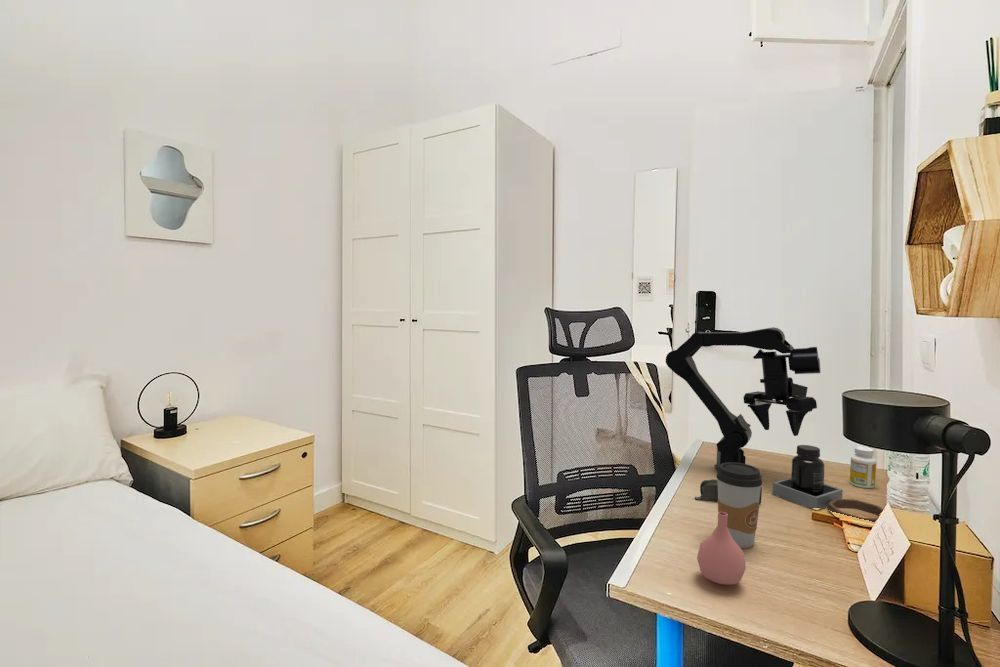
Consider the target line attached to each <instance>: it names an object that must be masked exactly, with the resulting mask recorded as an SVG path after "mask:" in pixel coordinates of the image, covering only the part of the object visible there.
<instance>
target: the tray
mask: <svg viewBox="0 0 1000 667" xmlns="http://www.w3.org/2000/svg"><path fill="white" fill-rule="evenodd" d="M843 491H844V490H843V489H841V488H838V487H835V486H831V485H829V484H825V483H824V494H823V495H819V496H816V497H815V496H812V495H810V494H807V493H804V492H801V491H798V490H795V489H792V488H791V477H789V478H785V479H782V480H778V481H774V482H772V493H771V494H772V495H773V496H776V497H778V498H781V499H784V500H786V501H789V502H792V503H794V504H797V505H800V506H802V507H805V508H808V509H811V510H813V508H823V509H825V508H828V503H829V502H831V501H832V500H834V499H843V494H844V493H843Z"/></svg>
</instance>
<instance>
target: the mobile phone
mask: <svg viewBox="0 0 1000 667" xmlns="http://www.w3.org/2000/svg"><path fill="white" fill-rule="evenodd" d="M699 488H700V489H699V492H700V496H695V497H694V499H695V500H697V501H707V500H709V501H708V502H717V501H718V481H717V479H714V478H713V479H705V480H703V481H702V482H701V483H700V486H699ZM762 491H763V489H762V486H761V491H760V499H759V506H760V505H761V504H762Z"/></svg>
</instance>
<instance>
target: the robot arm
mask: <svg viewBox="0 0 1000 667" xmlns="http://www.w3.org/2000/svg"><path fill="white" fill-rule="evenodd" d="M703 346H730V347H731V346H745V347H750V348H754V349H758V351H757V352H756V354H755V355H754V356H753V357H752V358H753V359H754V360H759V359H761V366H762V376H763V377H762V378H760V379H759V382H760V383H761V384H763V386H764V391H758V390H757V391H752V392H745V394H744V395H743V404H747V408H749V409H751V411H752V412H753V413H754V415H755V417H756V418H757V419H758V421H759V423H760V424H761V426H762V427H763V429H764V431H769V430H770V414H769V413H770V412H769V410H770V408H771V406H772V405H773V404H775V405H782V406H785V407H786V408H787V410H785V413H786V416H787V420H788V423H789V427H790V430H791V433H792V435H793V436H794V437H796V436H799V433H800V429H801V426H802V424H803V421H804V418H805V416H806V415H807V414H808V413H810V412H812V411H813V410H814V409H815V410H816V409H817V408H818V405H817V404H818V403H817V400H816V399H815V398H814V396H807V394H808V389H809V387H807V386H805V385H801V384H797V383H794V379H793V378H792V377H789V374H788V367H789V371H791V372H794V374H795V375H799V374H800V375H805V374H806V375H810V374H821V359H820V358H819V352H818V347H817V346H809V347H805V348H804V347H803V348H800V347H799V348H794V346H793V345H792V344H791V343H790V342H788V341H787V340H786V336H785V333H784V331H782V330H781V329H780V328H778V327H766V328H761V329H755V330H751V331H734V332H733V331H725V332H724V331H722V332H720V331H719V332H718V331H717V332H716V331H715V332H713V331H712V332H711V331H710V332H706V331H705V332H704V331H696V332H694V333H692V335H690V337H689V338H688V339H687V340H685V341H684V342H683V343H682V344H681V345H679V347H678V348H677V349H673V350H671V351H669V352H668V353H667V354H666V356H665V364H666V366H667V367H668V368H669V369H670V370H671V371H672V372H673V373H674V374H675V375H677V376H678V377H680V378H681V379H683V380H684V381H685V382H686V383H687V384H688V386H689V387H690V388H691V389H692V391H693V392H694V393H695V395H696V396H697V398H699V400H700V401H701V402H702V403H703V405H704V406H705V407H706V408H707V410H708V411H709V413H711V415H712V416H713V418H715V420H716V422H717V424H718V426H719V429H720V432H721V434H722V437H721V439H720V440H719V441H718V442H717V443H716V464H714V466H713V467H714V468H716V470H718V469H719V467H720V464H722V463H727V462H735V463H743V464H746V460H747V458H746V456H745V455H744V454H745V451H744V450H743V449H742V448H744V447H745V446H746V445H748V443H749V442H750V440H751V438H752V433H753V432H752V429H751V424H749V423H748V421H746V419H745V418H744V416H743V415H742V414H741V413H740V414H739V415H738V416H737V415H735V414H734V413H732V412H731V411H730V410H729V409H728V407H727V406H726V405H725V403H724V402H723V401H722V400H721V399H720V397H719V396H718V395H717V394H716V392H715V391H714V390H713V388H711V386H710V385H709V383H708V382H707V381H706V380H705V379H704V377H703V376H702V375H701V374H700V372H699V371H698V367H697V365H696V362H695V360H694V359H693V357H694V355H695V354H697V352H699V350H700V349H701V348H703ZM763 350H767V351H763ZM777 352H779V353H780V354H778V353H777ZM787 358H788V359H787ZM787 361H788V365H787Z"/></svg>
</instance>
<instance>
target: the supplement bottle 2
mask: <svg viewBox="0 0 1000 667" xmlns="http://www.w3.org/2000/svg"><path fill="white" fill-rule="evenodd" d="M874 450H875V449H873V448H870V447H866V446H855V447H854V450H853V452H854V453H855V454H852V455H851V457H850V468H849V469H850V471H849V483H850V485H853V486H855V487H858V488H862V489H863V488H864V489H873V488H875V487H876V473H877V472H876V471H877V459H876V458H875V457H873V456H874Z"/></svg>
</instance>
